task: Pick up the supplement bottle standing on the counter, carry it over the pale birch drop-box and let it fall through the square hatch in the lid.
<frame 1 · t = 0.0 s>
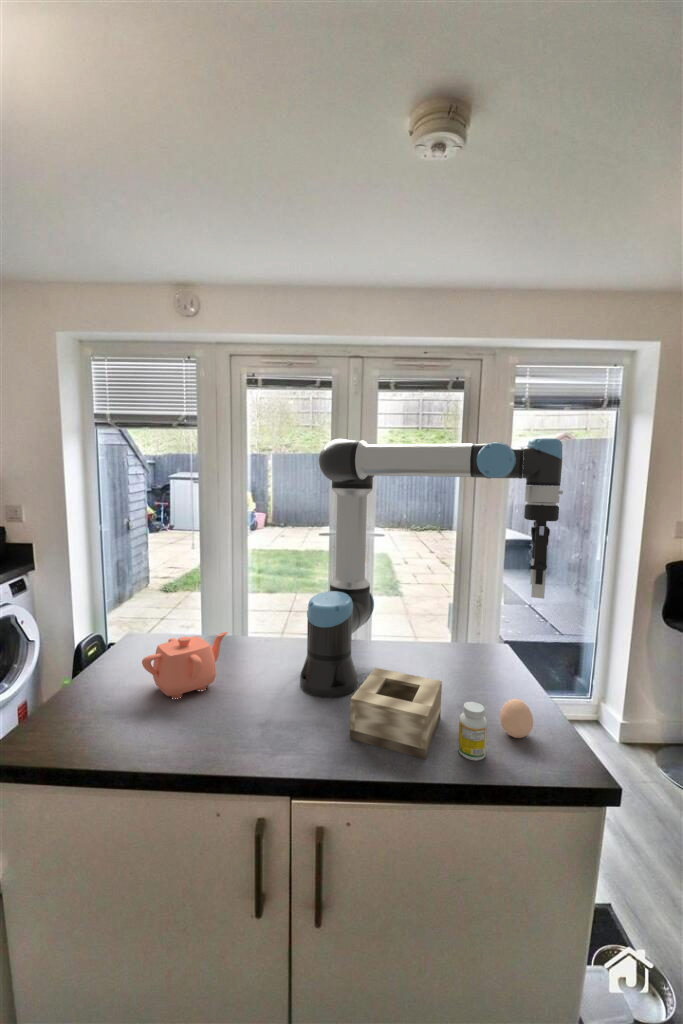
hand: (536, 590, 105), 28 cm above the worktop, fingers open, 13 cm apart
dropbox: (397, 727, 95), on the worktop
egg: (515, 736, 93), on the worktop
supplement bottle: (471, 753, 87), on the worktop
teapot: (187, 687, 111), on the worktop
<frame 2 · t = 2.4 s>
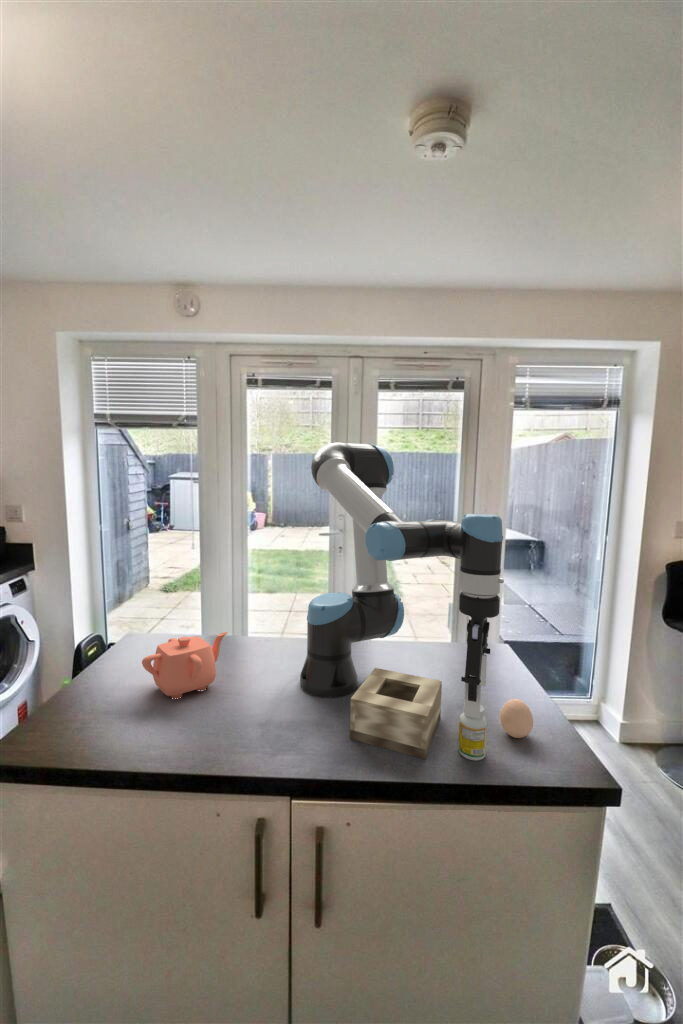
hand: (475, 699, 85), 11 cm above the worktop, fingers open, 13 cm apart
nothing on the worktop moved.
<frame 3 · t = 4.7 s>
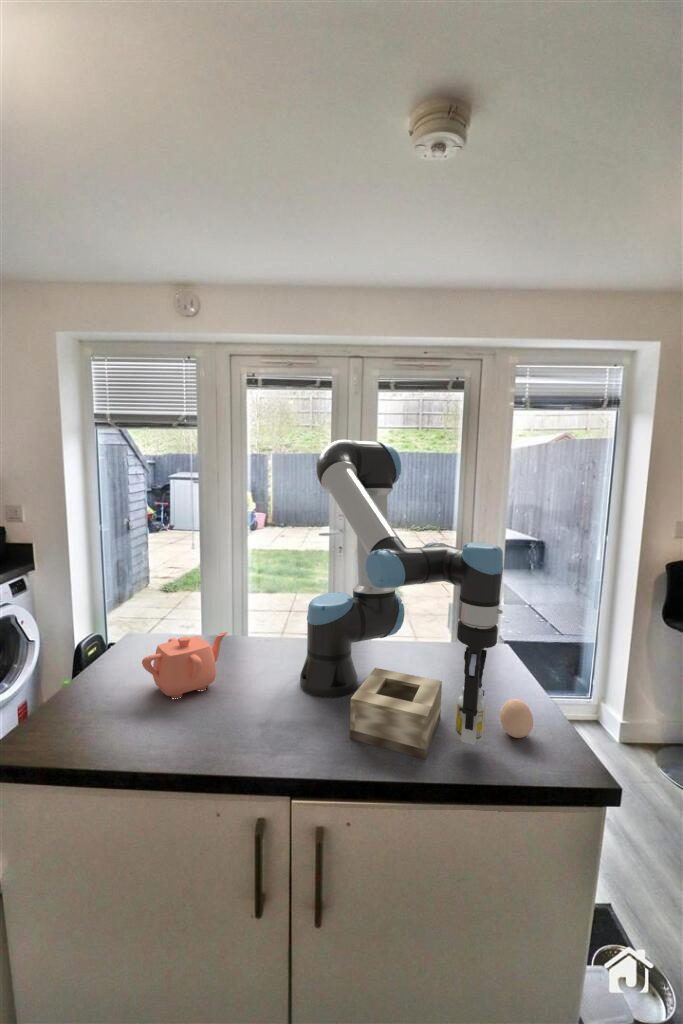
hand: (470, 733, 87), 4 cm above the worktop, fingers closed on supplement bottle, 5 cm apart
supplement bottle: (469, 735, 87), point 3 cm above the worktop, touching gripper
everything else where it was.
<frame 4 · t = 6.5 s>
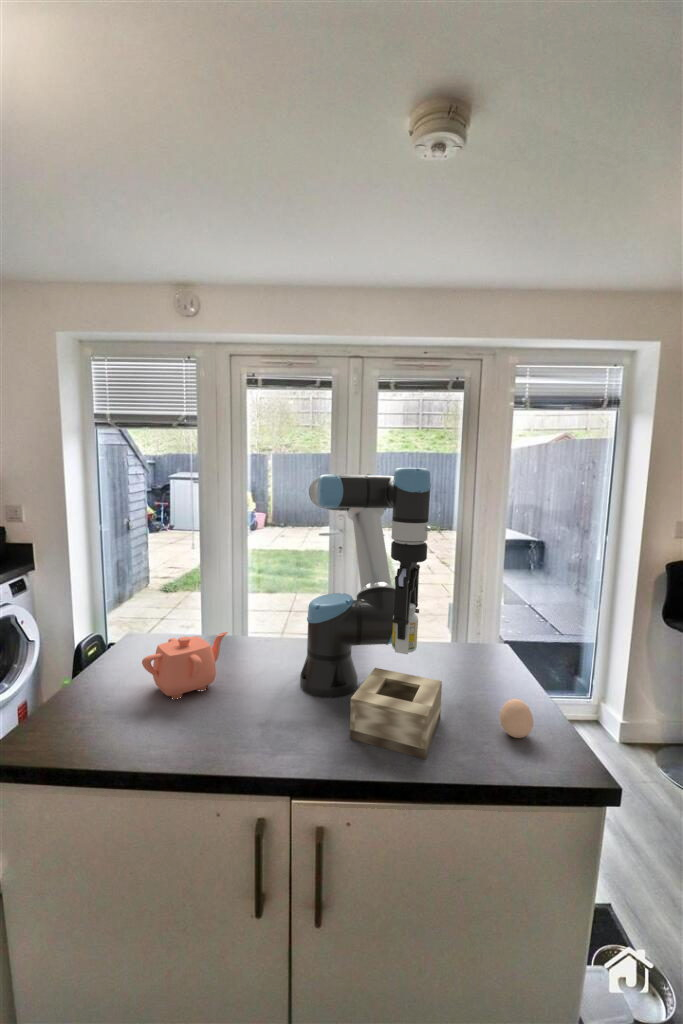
hand: (404, 646, 93), 18 cm above the worktop, fingers closed on supplement bottle, 5 cm apart
supplement bottle: (404, 648, 93), point 18 cm above the worktop, touching gripper
everything else where it was.
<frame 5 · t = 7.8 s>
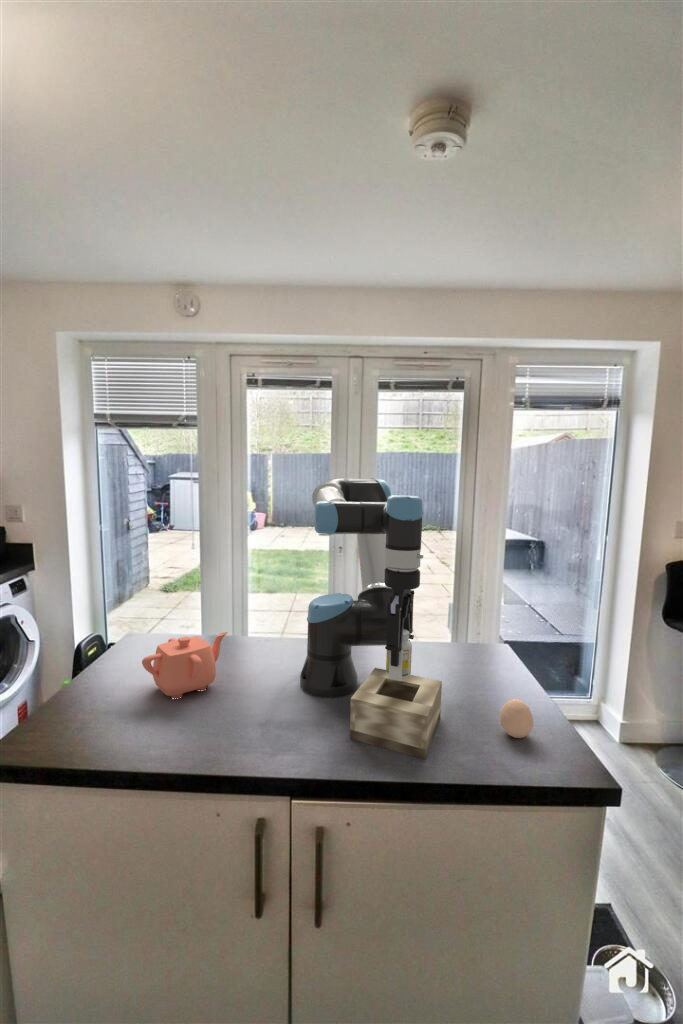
hand: (399, 673, 93), 12 cm above the worktop, fingers closed on supplement bottle, 5 cm apart
supplement bottle: (398, 675, 94), point 12 cm above the worktop, touching gripper
everything else where it was.
when the fingers open (10 cm above the worktop, at t = 8.6 s): supplement bottle drops 7 cm, resting on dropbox.
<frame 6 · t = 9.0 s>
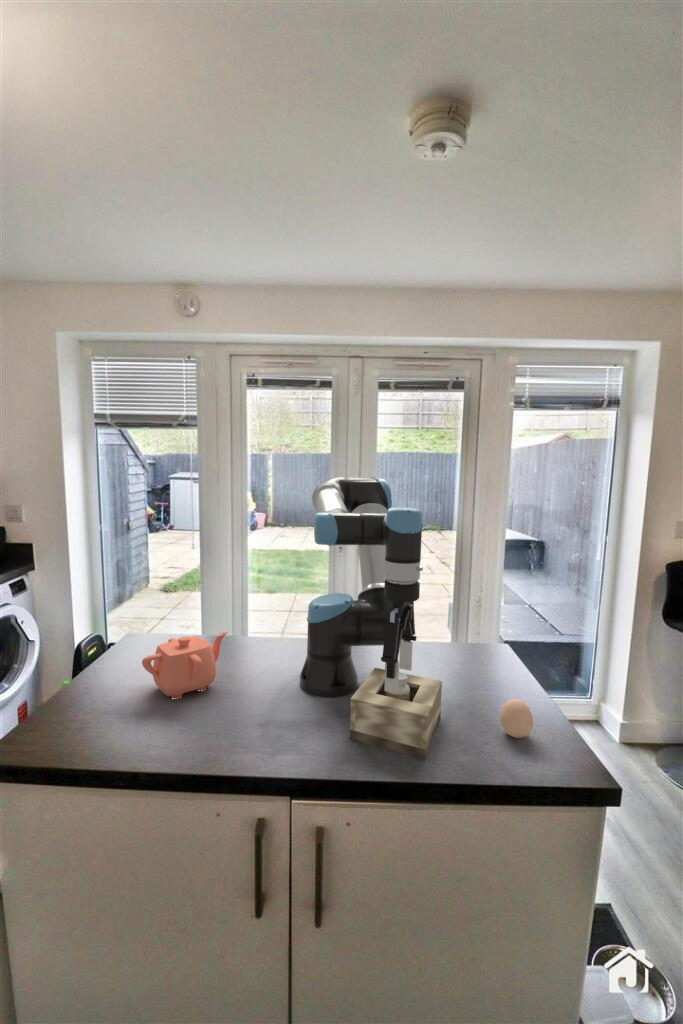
hand: (398, 679, 94), 11 cm above the worktop, fingers open, 11 cm apart
supplement bottle: (396, 719, 94), point 2 cm above the worktop, touching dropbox
everything else where it was.
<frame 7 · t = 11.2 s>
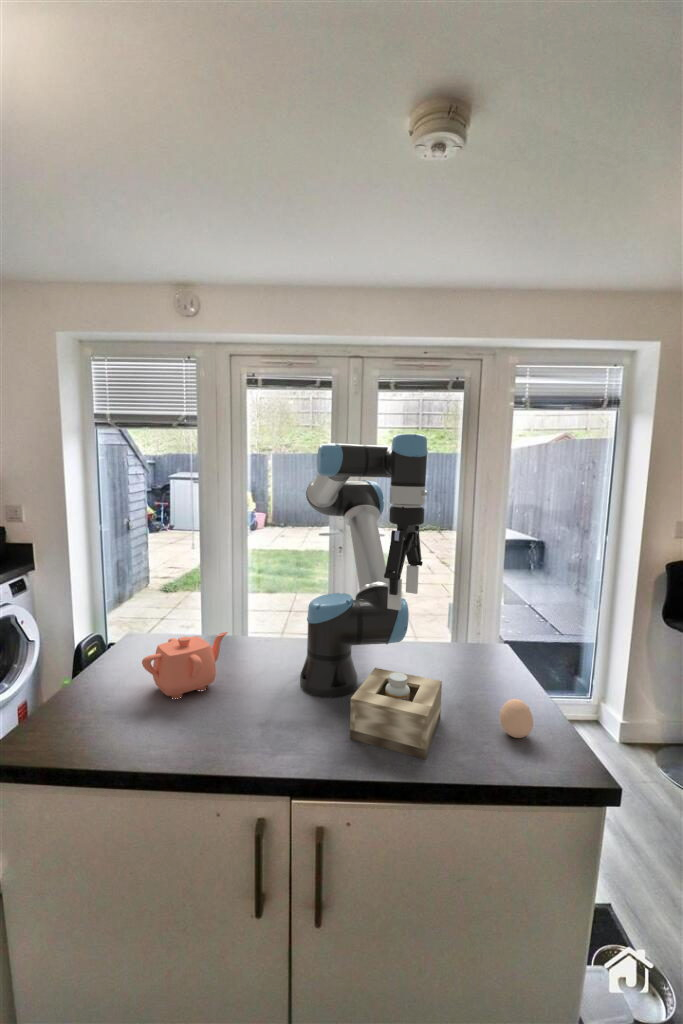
hand: (403, 600, 96), 27 cm above the worktop, fingers open, 13 cm apart
nothing on the worktop moved.
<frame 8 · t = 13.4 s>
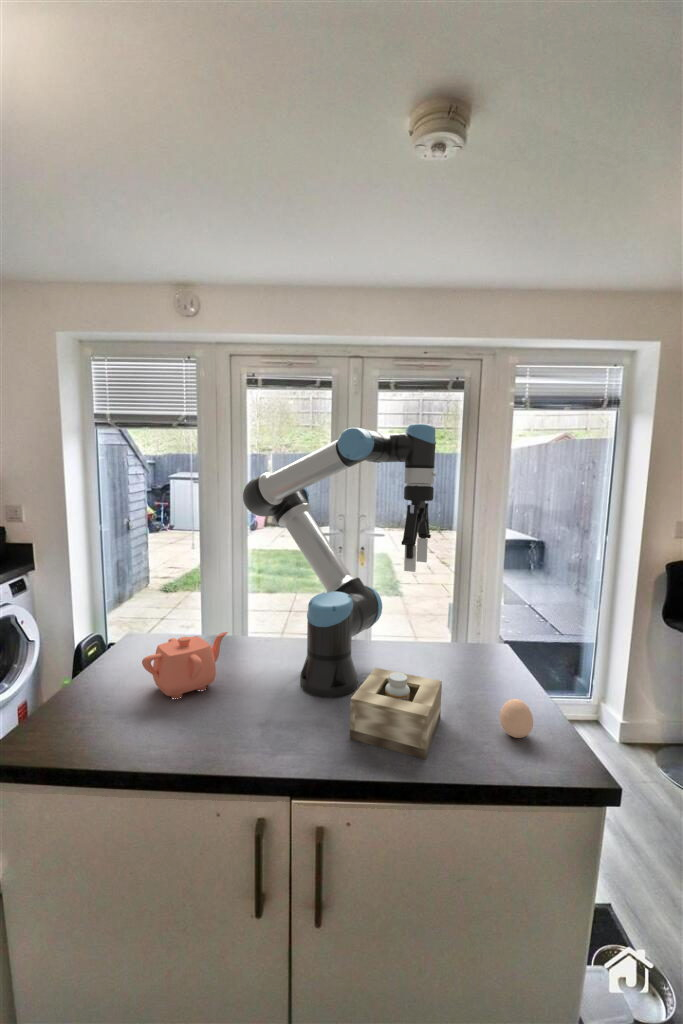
hand: (416, 566, 113), 32 cm above the worktop, fingers open, 13 cm apart
nothing on the worktop moved.
at the end: supplement bottle inside the target area on the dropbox (0.2 cm from its centre), point 1.8 cm above the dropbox's base; the gripper is holding nothing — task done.
